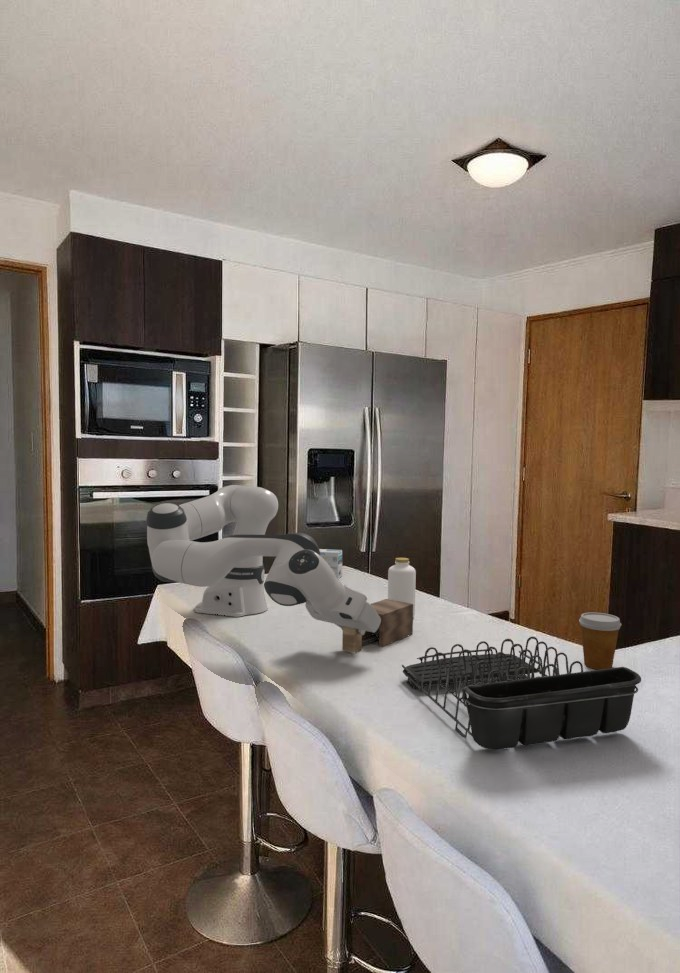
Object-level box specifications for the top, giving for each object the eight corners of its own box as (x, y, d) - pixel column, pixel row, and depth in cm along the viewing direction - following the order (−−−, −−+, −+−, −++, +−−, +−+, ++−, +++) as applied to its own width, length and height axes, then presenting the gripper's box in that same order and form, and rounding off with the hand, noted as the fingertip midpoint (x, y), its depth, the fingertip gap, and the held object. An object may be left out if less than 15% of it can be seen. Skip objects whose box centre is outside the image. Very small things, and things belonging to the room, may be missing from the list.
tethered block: (355, 653, 168) (356, 618, 167) (340, 649, 171) (340, 615, 170) (400, 635, 185) (401, 603, 184) (385, 631, 188) (386, 600, 187)
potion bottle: (414, 614, 207) (415, 556, 206) (415, 621, 199) (416, 561, 198) (387, 613, 208) (388, 555, 207) (387, 620, 200) (388, 560, 199)
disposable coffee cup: (618, 662, 164) (620, 614, 164) (620, 674, 155) (622, 624, 155) (577, 657, 168) (578, 610, 167) (577, 669, 159) (579, 619, 158)
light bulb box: (342, 576, 263) (343, 549, 262) (338, 580, 256) (338, 552, 256) (316, 575, 265) (316, 548, 265) (311, 578, 259) (312, 550, 258)
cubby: (382, 646, 174) (383, 614, 173) (354, 640, 179) (355, 608, 179) (412, 634, 186) (413, 603, 185) (385, 628, 191) (386, 598, 191)
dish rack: (479, 767, 111) (481, 696, 110) (387, 676, 153) (388, 624, 152) (649, 744, 120) (652, 678, 119) (518, 664, 163) (519, 615, 162)
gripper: (293, 603, 168) (317, 633, 176) (359, 617, 155) (382, 649, 164) (305, 583, 171) (328, 613, 179) (370, 595, 158) (392, 627, 167)
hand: (354, 630), depth 171 cm, fingers closed on tethered block, 3 cm apart
